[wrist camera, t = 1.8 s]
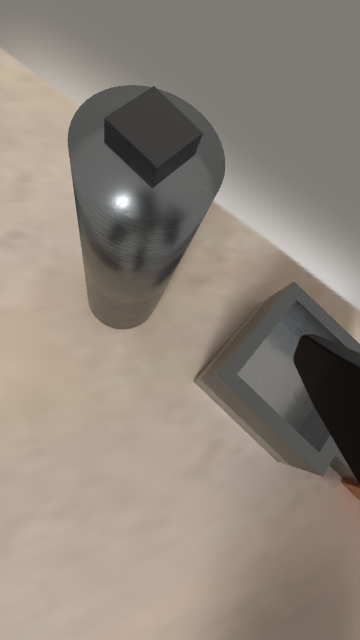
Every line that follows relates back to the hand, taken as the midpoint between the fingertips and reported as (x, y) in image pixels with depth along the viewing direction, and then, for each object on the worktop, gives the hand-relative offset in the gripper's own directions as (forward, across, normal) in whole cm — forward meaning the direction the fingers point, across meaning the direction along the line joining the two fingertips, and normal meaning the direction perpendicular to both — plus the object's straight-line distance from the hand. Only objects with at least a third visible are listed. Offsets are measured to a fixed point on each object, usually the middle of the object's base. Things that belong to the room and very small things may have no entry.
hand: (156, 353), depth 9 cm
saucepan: (+5, -13, +11) cm, 18 cm away
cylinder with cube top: (+12, 0, +4) cm, 13 cm away
